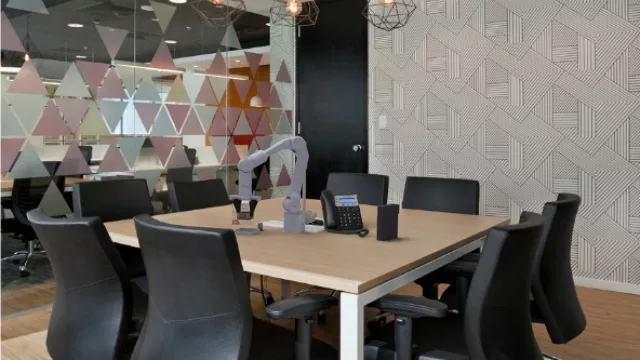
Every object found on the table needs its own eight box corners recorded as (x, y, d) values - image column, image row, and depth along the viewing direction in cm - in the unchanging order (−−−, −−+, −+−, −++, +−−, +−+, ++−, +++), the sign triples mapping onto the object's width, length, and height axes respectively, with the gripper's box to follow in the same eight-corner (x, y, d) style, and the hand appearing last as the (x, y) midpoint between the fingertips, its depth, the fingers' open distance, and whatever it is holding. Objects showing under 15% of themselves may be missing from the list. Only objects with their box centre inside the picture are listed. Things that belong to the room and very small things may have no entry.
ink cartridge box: (231, 225, 276) (231, 195, 274) (234, 224, 280) (234, 194, 279) (248, 226, 275) (248, 196, 274) (251, 224, 280) (251, 195, 278)
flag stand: (305, 219, 297) (305, 162, 295) (321, 222, 288) (322, 164, 285) (286, 222, 288) (286, 163, 286) (302, 225, 279) (303, 164, 276)
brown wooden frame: (248, 220, 248) (248, 213, 248) (237, 219, 250) (237, 212, 249) (254, 218, 255) (254, 211, 254) (243, 217, 256) (243, 210, 256)
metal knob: (267, 230, 261) (267, 222, 261) (263, 232, 257) (263, 224, 256) (257, 230, 263) (257, 221, 262) (252, 232, 258) (252, 223, 258)
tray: (260, 233, 256) (260, 228, 255) (251, 236, 246) (251, 232, 246) (240, 231, 258) (240, 227, 258) (231, 235, 249) (231, 230, 249)
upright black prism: (391, 236, 249) (391, 203, 248) (399, 238, 246) (399, 204, 245) (375, 240, 241) (375, 205, 240) (383, 241, 238) (383, 206, 237)
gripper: (226, 186, 248) (226, 216, 250) (256, 187, 244) (256, 218, 245) (233, 184, 255) (233, 214, 256) (263, 185, 251) (262, 216, 252)
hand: (245, 216), depth 251 cm, fingers closed on brown wooden frame, 6 cm apart
